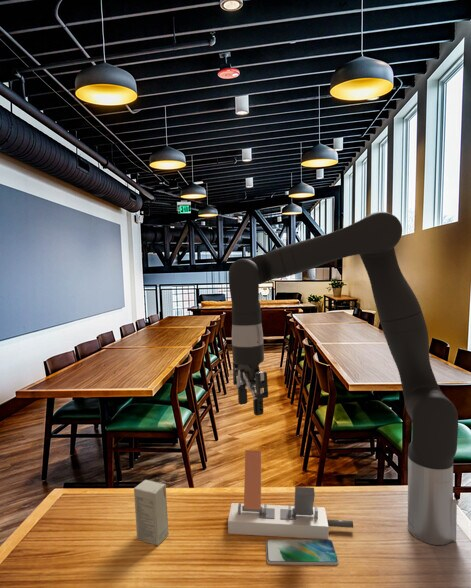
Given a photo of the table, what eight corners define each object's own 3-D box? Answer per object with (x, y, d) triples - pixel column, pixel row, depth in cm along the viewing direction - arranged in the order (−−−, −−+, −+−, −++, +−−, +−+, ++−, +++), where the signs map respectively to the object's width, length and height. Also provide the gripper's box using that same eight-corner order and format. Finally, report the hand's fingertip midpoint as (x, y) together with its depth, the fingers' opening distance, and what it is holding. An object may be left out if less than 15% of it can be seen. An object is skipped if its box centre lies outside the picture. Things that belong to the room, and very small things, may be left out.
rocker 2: (312, 509, 91) (315, 487, 82) (313, 516, 90) (316, 495, 80) (292, 508, 91) (293, 486, 82) (292, 515, 90) (293, 494, 81)
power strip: (349, 520, 93) (349, 501, 92) (355, 540, 86) (355, 520, 85) (231, 514, 96) (231, 496, 96) (228, 533, 89) (227, 513, 89)
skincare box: (169, 534, 89) (167, 484, 88) (158, 546, 85) (156, 494, 84) (147, 527, 92) (145, 478, 91) (135, 538, 88) (133, 487, 87)
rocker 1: (262, 512, 92) (262, 451, 98) (262, 512, 90) (262, 450, 96) (242, 511, 92) (244, 450, 98) (242, 511, 91) (243, 450, 97)
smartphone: (265, 538, 87) (332, 539, 86) (265, 542, 87) (332, 542, 86) (266, 562, 79) (339, 562, 79) (266, 566, 79) (339, 567, 79)
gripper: (276, 345, 86) (279, 415, 87) (248, 336, 99) (251, 398, 100) (246, 349, 83) (249, 422, 84) (221, 340, 96) (224, 403, 97)
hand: (250, 408), depth 92 cm, fingers open, 8 cm apart
